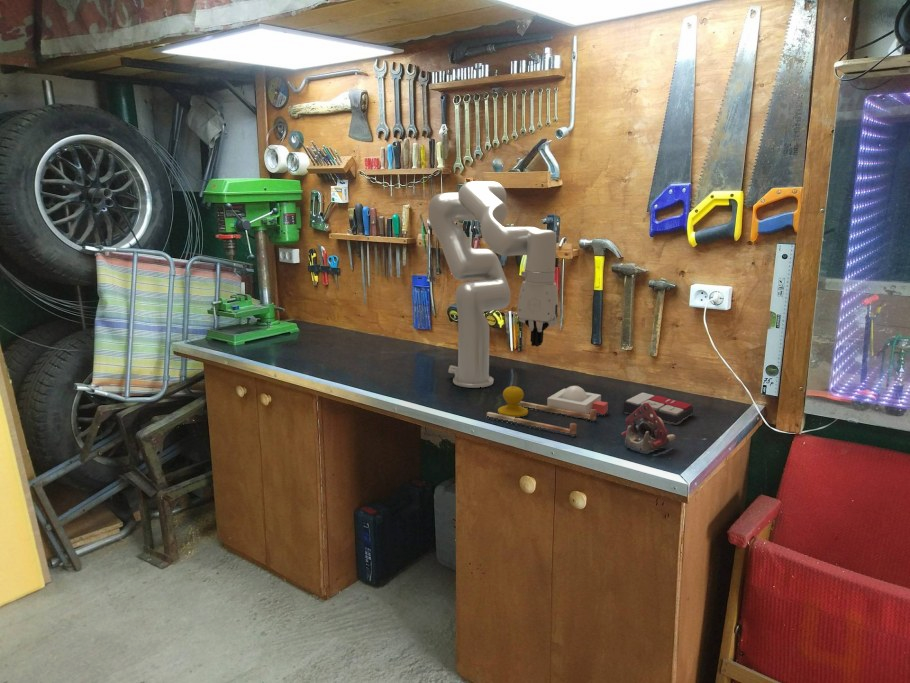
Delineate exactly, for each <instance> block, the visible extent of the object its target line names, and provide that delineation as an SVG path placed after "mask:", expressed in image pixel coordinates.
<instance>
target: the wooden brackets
mask: <svg viewBox="0 0 910 683" xmlns="http://www.w3.org/2000/svg"><path fill="white" fill-rule="evenodd" d="M518 405H519V406H523V407H529V408H535V409H540V410H545V411H550V412H554V413H561V414H567V415H573V416H578V417H584V418H588V419H592V420H595V419H596V420H597V415H596V409H590V414H585V413H580V412H575V411H569V410H564V409H559V408H554V407H549V406H547V405H544V404H537V403H533V402H526V401H523V400H521V402H520V403H519V404H518ZM487 416H489V417H493V418H498V419H503V420H508V421H513V422H517V423H522V424H526V425H531V426H536V427H541V428H546V429H550V430H555V431H560V432H565V433H570V434H576V435H577V426H578V424H577V423H574V422H571V423H569V428H567V427H562V426H558V425H553V424H548V423H543V422H539V421H538V422H537V421H534V420H533V421H532V420H529V419H524V418H515V417H511V416H506V415H501V414H498V413H496V412H492V411H488V412H486V417H487Z"/></svg>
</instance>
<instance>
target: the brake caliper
mask: <svg viewBox="0 0 910 683" xmlns="http://www.w3.org/2000/svg"><path fill="white" fill-rule="evenodd" d="M640 413H641V414H640ZM635 415H636V416H635ZM636 421H638V424H637V422H636ZM636 424H637V425H636ZM625 428H626V430H625V431H623V432H621V434H620V435H621V436H622V437H623V438H625V440H624V445H625V446H629V447H632V448H635V449H638V450H641V451H647V450H655V449H659V448H661V447H663V446H665V447H666V446H668V445H669V444H670V443H672V442H673V441H674V440H676V438H677V436H676V435H675V434H668V430H667V429H666V427H665V423H664V422H663V420H662V419H661V418H660V417H658V416H657V415H656V413H655V411H654V410H653V408H652V407H651V405H650V404H649V403H647V402H645V403H643V404H642V405H641V406H640V407H639V408H638V409H636V410H635V411H634V412H633V413H632V414H631V415H627V417H626V418H625ZM663 448H664V447H663ZM661 449H662V448H661ZM659 450H660V449H659Z"/></svg>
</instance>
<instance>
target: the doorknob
mask: <svg viewBox="0 0 910 683" xmlns="http://www.w3.org/2000/svg"><path fill="white" fill-rule="evenodd" d="M502 397H503V399H504V401H505V402H506V403H507V404H506V405H502V406H500V407H499V408H497V414H498V413H499V414H501V415H506V416H511V417H520V416H525V415H527V414H528V415H529V409H528V408H524V407H522V406H518V404H519V403H520V402H521V401H523V399H524V397H525V393H524V391H523V389H522V388H520V387H519V386H515V385H513V386H510V385H509V386H508V387H506V388H505V389H504V390H503V392H502ZM528 415H527V416H528Z"/></svg>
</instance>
